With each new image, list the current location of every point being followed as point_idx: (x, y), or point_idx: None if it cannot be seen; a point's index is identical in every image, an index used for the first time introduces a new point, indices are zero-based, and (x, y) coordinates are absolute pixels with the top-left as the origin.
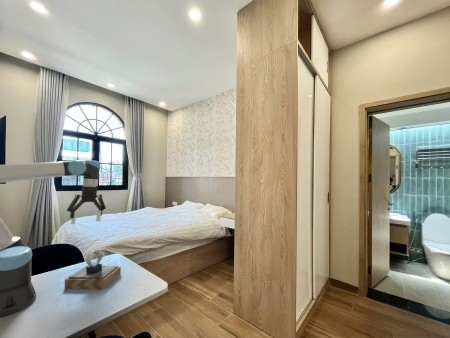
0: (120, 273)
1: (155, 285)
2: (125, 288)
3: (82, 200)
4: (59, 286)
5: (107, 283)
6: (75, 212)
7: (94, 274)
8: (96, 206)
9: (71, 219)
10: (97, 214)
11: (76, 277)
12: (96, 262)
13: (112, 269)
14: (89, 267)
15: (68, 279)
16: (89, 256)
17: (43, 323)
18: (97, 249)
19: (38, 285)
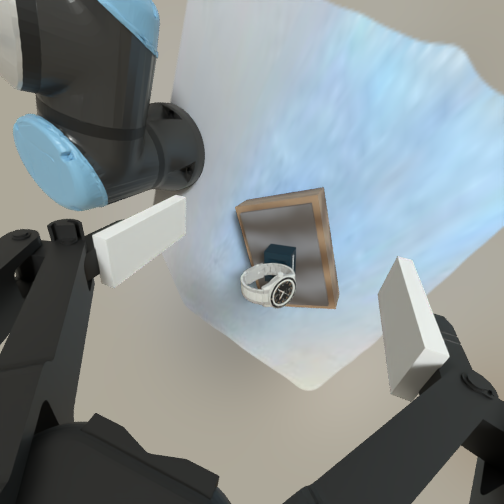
0: (338, 296)
1: (308, 377)
2: (285, 330)
3: (10, 426)
4: (250, 173)
5: None
6: (107, 284)
7: None
8: (398, 415)
9: (151, 208)
10: (404, 313)
11: (246, 236)
12: (286, 270)
13: (304, 302)
14: (264, 262)
15: (238, 217)
16: (241, 289)
17: (178, 260)
18: (269, 300)
19: (234, 97)
